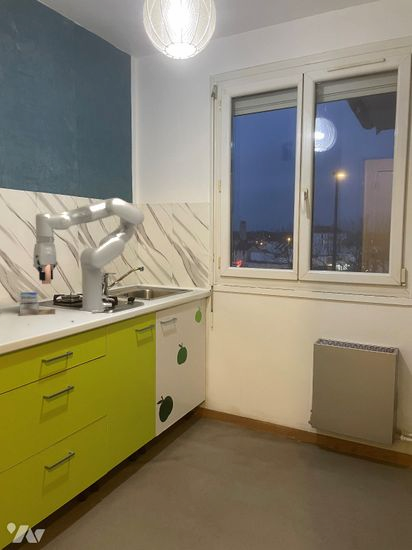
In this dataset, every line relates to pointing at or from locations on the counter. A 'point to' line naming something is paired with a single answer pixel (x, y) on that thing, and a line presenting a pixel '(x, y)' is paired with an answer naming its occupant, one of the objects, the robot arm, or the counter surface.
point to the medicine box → (28, 296)
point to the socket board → (33, 309)
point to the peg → (47, 274)
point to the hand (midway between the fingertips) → (46, 279)
